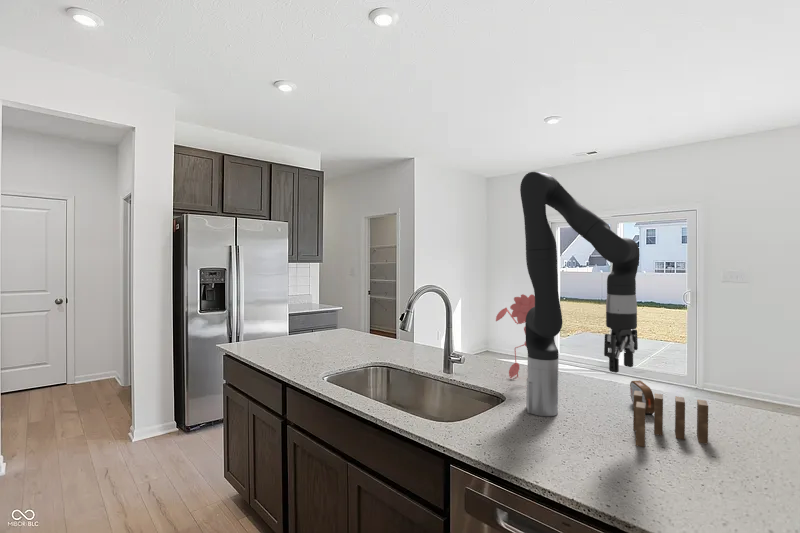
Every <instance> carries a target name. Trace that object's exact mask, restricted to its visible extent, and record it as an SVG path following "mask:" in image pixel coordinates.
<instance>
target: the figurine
mask: <svg viewBox="0 0 800 533" xmlns="http://www.w3.org/2000/svg"><path fill="white" fill-rule="evenodd" d="M513 302H514V303H512V304H511V305H510V306H509V308H510V310H512V312H510V311H509V310H508V307H505V308H502V309H501V310H499V312H498V313H497V314H496V316H495V322H498V321H500V320H501V319H503V317H505V316H506V314H507V313H508V315H509V316H510V318H512V320H513V321H514V323H516V325H522V324H524V323H526V316H527V313H528V312H529V310H530V309H531V308H533V307H535V294H530V295H529V296H527V295H526V294H524V293H523V294H520V296H514V297H513ZM515 318H516V319H515ZM523 332H524V334H525V336H526V331H525V326H524V327H523ZM523 346H525V347H526V340H525V341H524V344H522V345H519V346H516V347H514V349H513V350H514V360H515V361H514V363H513V364H512V365H511V366H510V367H509V370H508V377H509V379H512V378H514V377H515V376H516V377H519V371H520V364H519V363H518V362H517V353H516V351H517V350H516V349H518V348H521V347H523Z"/></svg>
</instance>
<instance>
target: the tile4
mask: <svg viewBox="0 0 800 533" xmlns="http://www.w3.org/2000/svg"><path fill="white" fill-rule="evenodd" d="M696 401H697V402H696V405H697V408H696V410H697V411H696V438H697V442H698V443H699V444H705V445H708V444H709V404H708V401H707V400H703V399H697V400H696Z"/></svg>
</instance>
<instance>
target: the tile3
mask: <svg viewBox="0 0 800 533" xmlns="http://www.w3.org/2000/svg"><path fill="white" fill-rule="evenodd" d="M674 399H675V401H674V402H675V403H674V404H675V405H674V408H675V409H674V413H675V414H674V416H675V417H674V418H675V419H674V433H675V434H674V435H675V439H677V440H678V439H679V440H683V441H686V436H685V435H686V400H685V397H683V396H675V398H674Z"/></svg>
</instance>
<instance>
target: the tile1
mask: <svg viewBox="0 0 800 533" xmlns="http://www.w3.org/2000/svg"><path fill="white" fill-rule="evenodd" d="M637 402H642V391H634V404H633V417H632V418H633V421H632V422H633V425H632V426H633V428H632V429H633V431H635V432H636V403H637Z"/></svg>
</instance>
